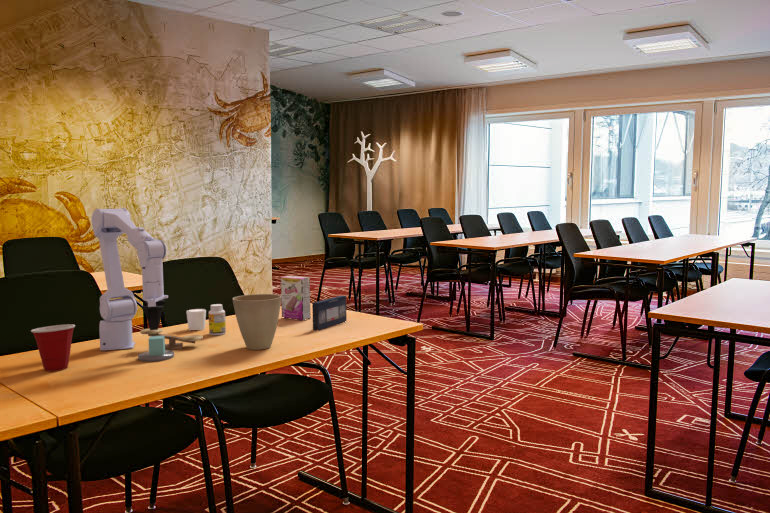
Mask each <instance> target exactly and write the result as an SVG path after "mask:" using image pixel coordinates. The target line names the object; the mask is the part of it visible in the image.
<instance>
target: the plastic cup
mask: <svg viewBox="0 0 770 513" xmlns="http://www.w3.org/2000/svg"><path fill="white" fill-rule="evenodd" d="M75 327H76V325H75V324H69V323H68V324H56V325H48V326H42V327H37V328H34V329H33V328H32V329H31V330H30V332H31V333H32V334H33V337H34V338H35V341H36V345H37V349H38V352H39V356H40V359H41V364H42V367H43V369H44V370H43V371H45V372H58V371H65V369H68V367H69V363H70V361H69V360H70V356H71V351H72V350H71V348H72V339H73V335H74V334H73V333H74V329H75Z"/></svg>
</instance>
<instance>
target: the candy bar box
mask: <svg viewBox="0 0 770 513" xmlns="http://www.w3.org/2000/svg"><path fill="white" fill-rule="evenodd" d="M310 279H311V278H310V277H306V276H294V275H286V276H280V296H281V305H280V307H281V318H282V317H284V318H283V319H286V318H291V319H290V320H294V319H297V321H302V320H304V321H306V320H305V319H308V318H311V285H310V283H311V280H310ZM308 320H309V319H308Z"/></svg>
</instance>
